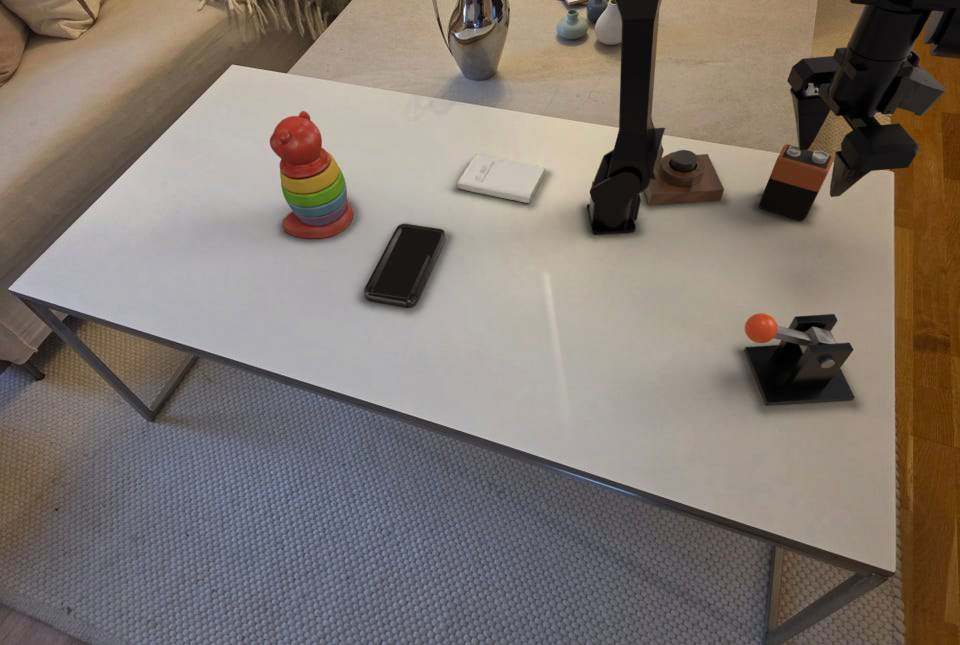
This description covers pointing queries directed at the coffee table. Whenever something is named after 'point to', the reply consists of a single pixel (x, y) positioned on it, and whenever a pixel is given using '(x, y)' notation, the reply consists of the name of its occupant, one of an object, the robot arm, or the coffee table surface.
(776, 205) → the battery
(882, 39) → the robot arm
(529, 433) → the coffee table surface
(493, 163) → the hard drive
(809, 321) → the switch bracket
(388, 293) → the phone
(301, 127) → the stacking bear
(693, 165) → the button
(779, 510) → the coffee table surface
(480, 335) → the coffee table surface
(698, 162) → the button block
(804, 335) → the switch lever
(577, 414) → the coffee table surface
